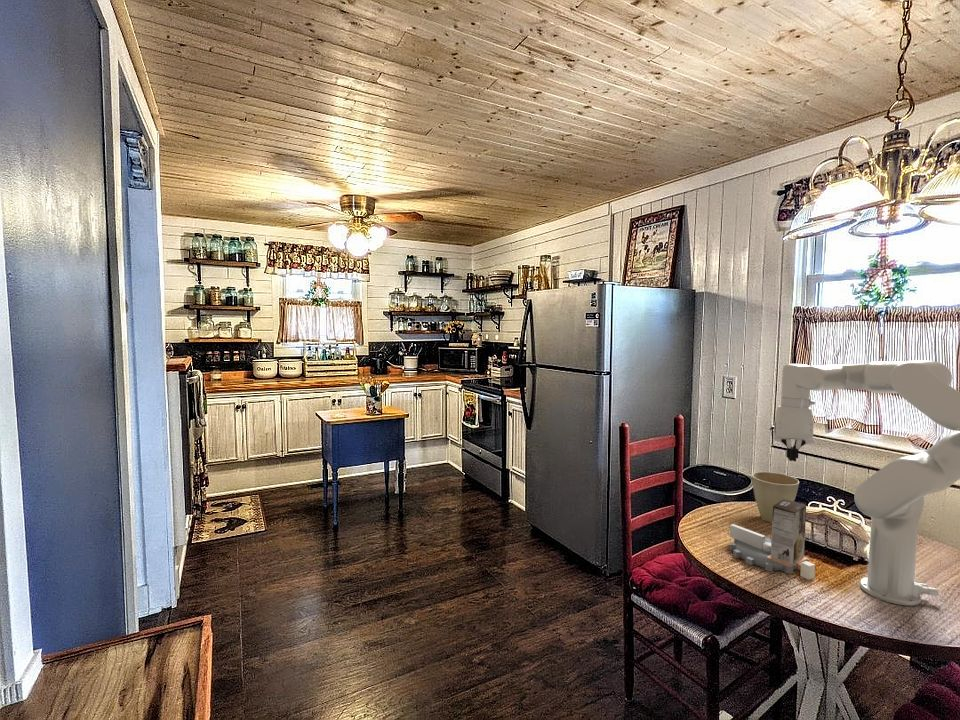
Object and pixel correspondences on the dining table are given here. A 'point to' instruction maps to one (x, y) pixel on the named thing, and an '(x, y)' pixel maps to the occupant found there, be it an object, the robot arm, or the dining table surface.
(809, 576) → the wheel stand
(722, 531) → the dining table surface
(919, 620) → the dining table surface
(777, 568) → the index wheel
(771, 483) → the plant pot
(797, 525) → the coffee box
